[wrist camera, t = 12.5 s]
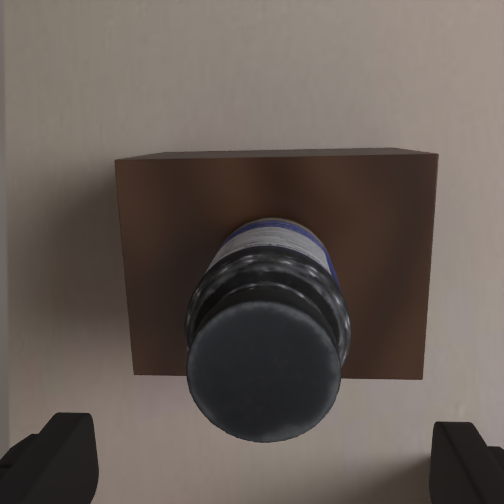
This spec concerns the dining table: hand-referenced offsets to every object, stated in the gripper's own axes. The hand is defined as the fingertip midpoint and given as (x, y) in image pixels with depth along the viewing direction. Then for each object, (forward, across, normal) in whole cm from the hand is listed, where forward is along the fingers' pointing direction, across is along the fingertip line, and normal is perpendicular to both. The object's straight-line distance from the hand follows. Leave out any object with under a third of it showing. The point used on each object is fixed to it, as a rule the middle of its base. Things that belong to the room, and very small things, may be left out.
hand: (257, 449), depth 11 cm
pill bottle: (+14, 0, 0) cm, 14 cm away
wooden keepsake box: (+24, 0, 0) cm, 24 cm away
